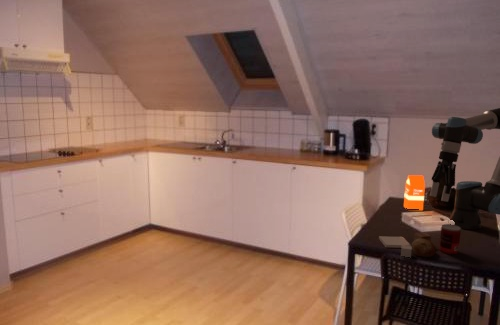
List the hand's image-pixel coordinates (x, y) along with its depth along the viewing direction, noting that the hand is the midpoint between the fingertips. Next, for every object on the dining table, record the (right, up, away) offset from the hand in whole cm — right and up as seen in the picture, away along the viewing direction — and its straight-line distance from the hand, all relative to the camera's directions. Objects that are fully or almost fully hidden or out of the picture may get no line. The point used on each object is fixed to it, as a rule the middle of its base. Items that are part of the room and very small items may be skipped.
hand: (438, 198), depth 192 cm
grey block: (-19, -23, -12) cm, 32 cm away
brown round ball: (-7, -21, +2) cm, 22 cm away
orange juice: (+12, -11, +62) cm, 64 cm away
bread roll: (-10, -23, -7) cm, 26 cm away
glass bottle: (+31, -11, +66) cm, 74 cm away
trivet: (-19, -20, +3) cm, 28 cm away
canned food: (+2, -23, -5) cm, 23 cm away
